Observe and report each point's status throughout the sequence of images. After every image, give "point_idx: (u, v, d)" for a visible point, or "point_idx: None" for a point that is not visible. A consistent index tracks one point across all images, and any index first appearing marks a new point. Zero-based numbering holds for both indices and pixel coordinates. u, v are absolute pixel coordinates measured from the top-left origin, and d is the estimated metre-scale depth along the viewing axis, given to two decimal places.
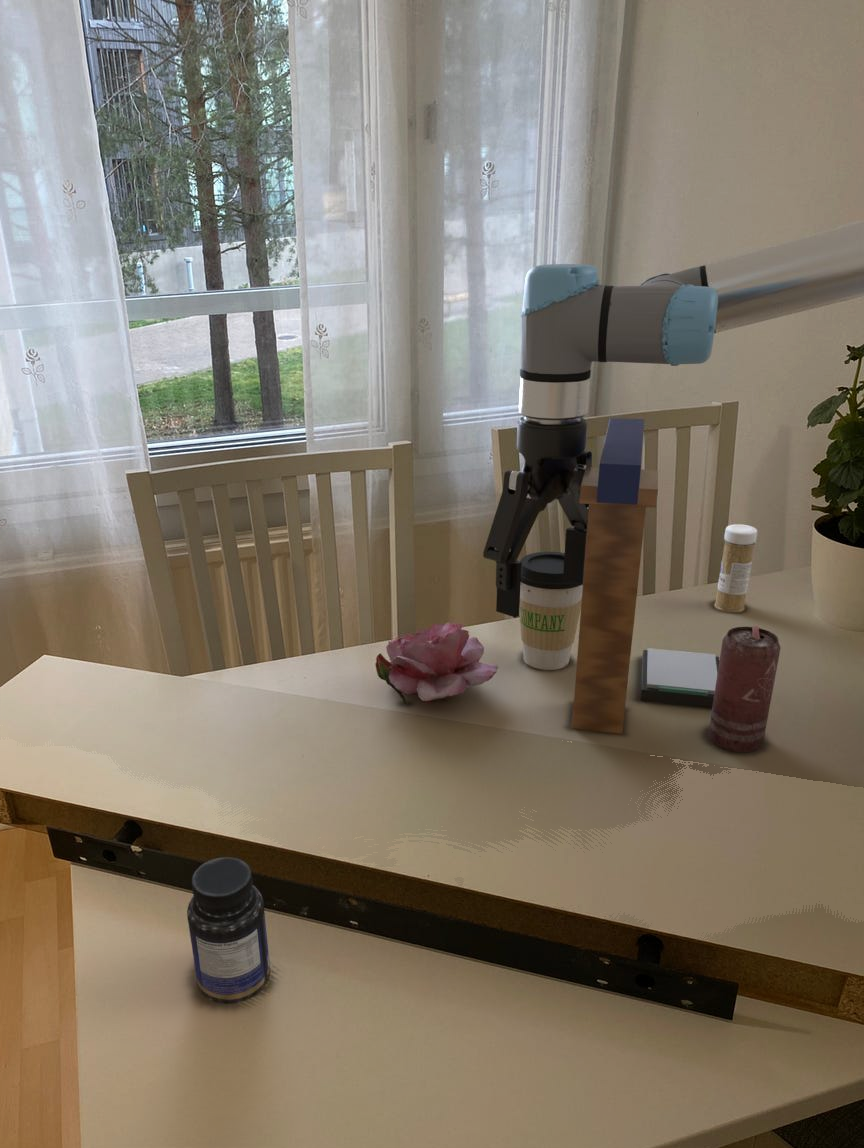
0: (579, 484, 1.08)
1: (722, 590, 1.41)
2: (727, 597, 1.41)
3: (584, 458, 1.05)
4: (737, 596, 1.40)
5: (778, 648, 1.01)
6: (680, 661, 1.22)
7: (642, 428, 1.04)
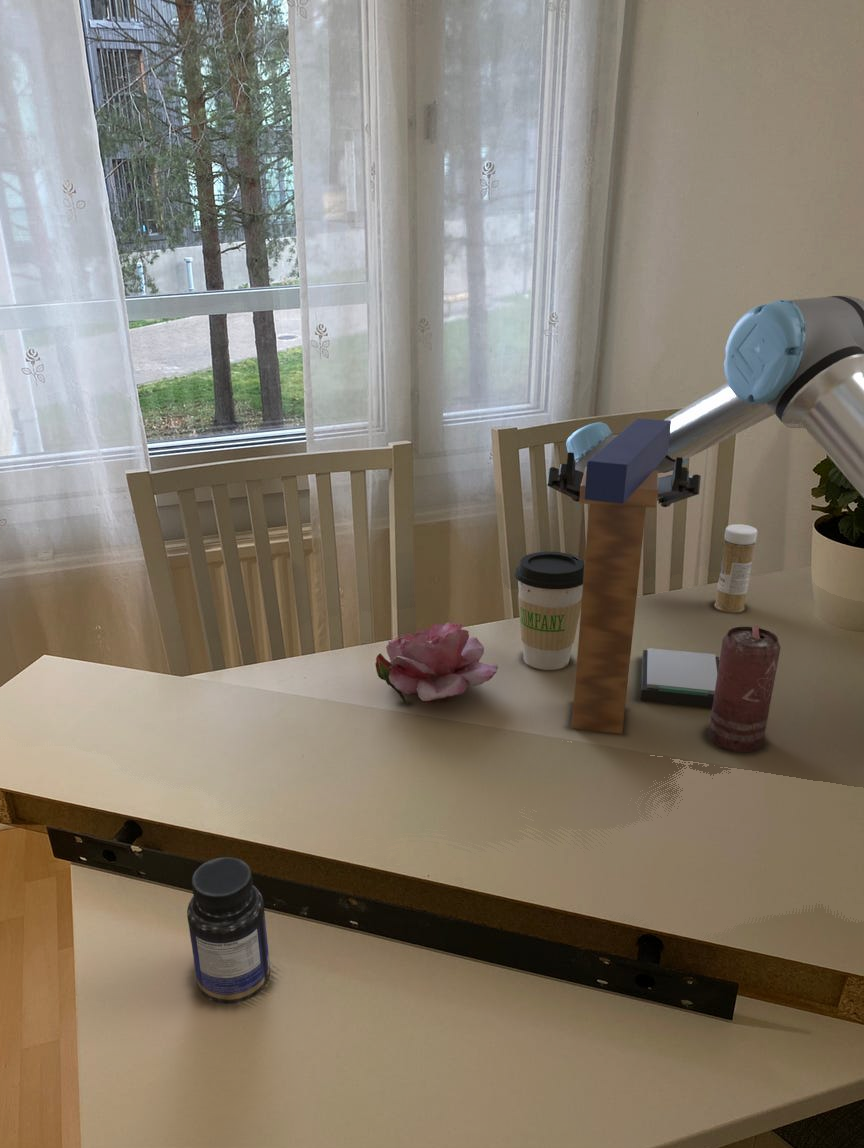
0: None
1: (722, 590, 1.41)
2: (727, 597, 1.41)
3: None
4: (737, 596, 1.40)
5: (778, 648, 1.01)
6: (680, 661, 1.22)
7: (661, 429, 1.03)
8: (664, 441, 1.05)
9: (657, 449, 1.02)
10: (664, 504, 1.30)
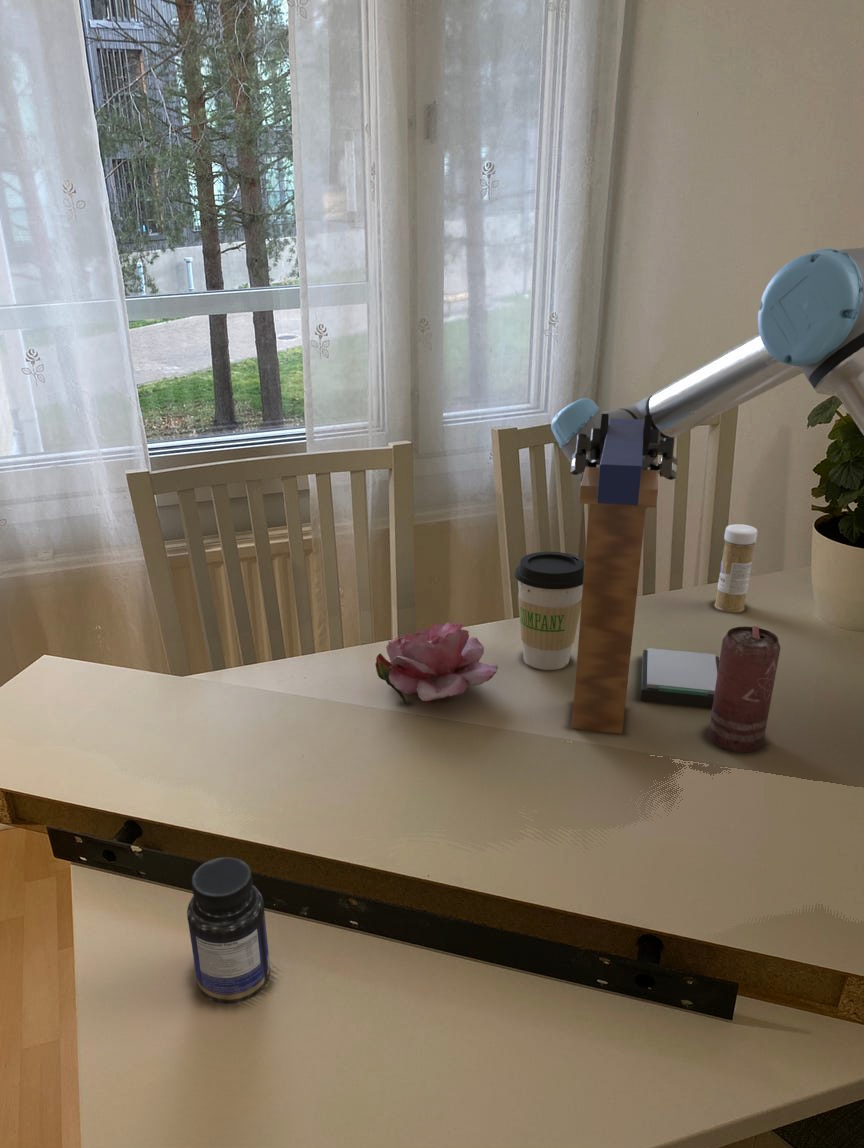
0: None
1: (722, 590, 1.41)
2: (727, 597, 1.41)
3: None
4: (737, 596, 1.40)
5: (778, 648, 1.01)
6: (680, 661, 1.22)
7: (642, 428, 1.03)
8: None
9: None
10: (667, 476, 1.16)
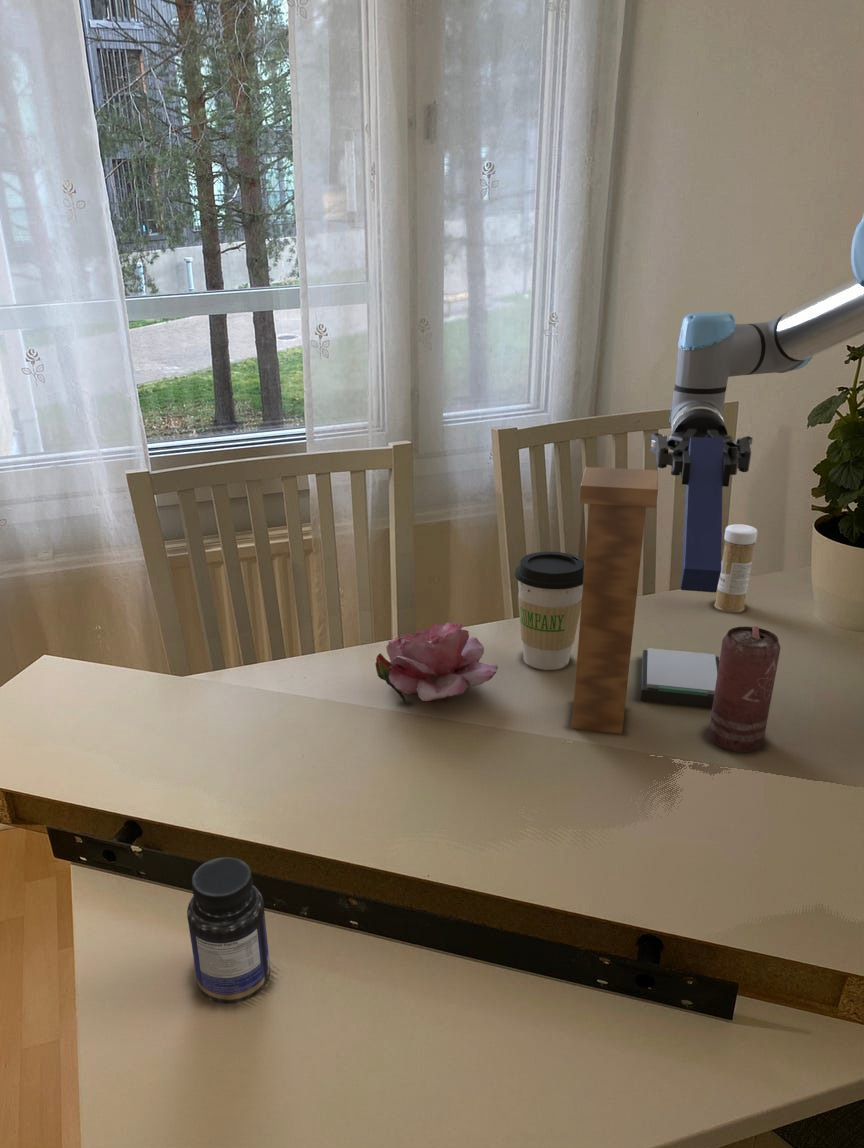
0: (738, 452, 1.22)
1: (722, 590, 1.41)
2: (727, 597, 1.41)
3: None
4: (737, 596, 1.40)
5: (778, 648, 1.01)
6: (680, 661, 1.22)
7: (721, 466, 1.13)
8: None
9: None
10: None
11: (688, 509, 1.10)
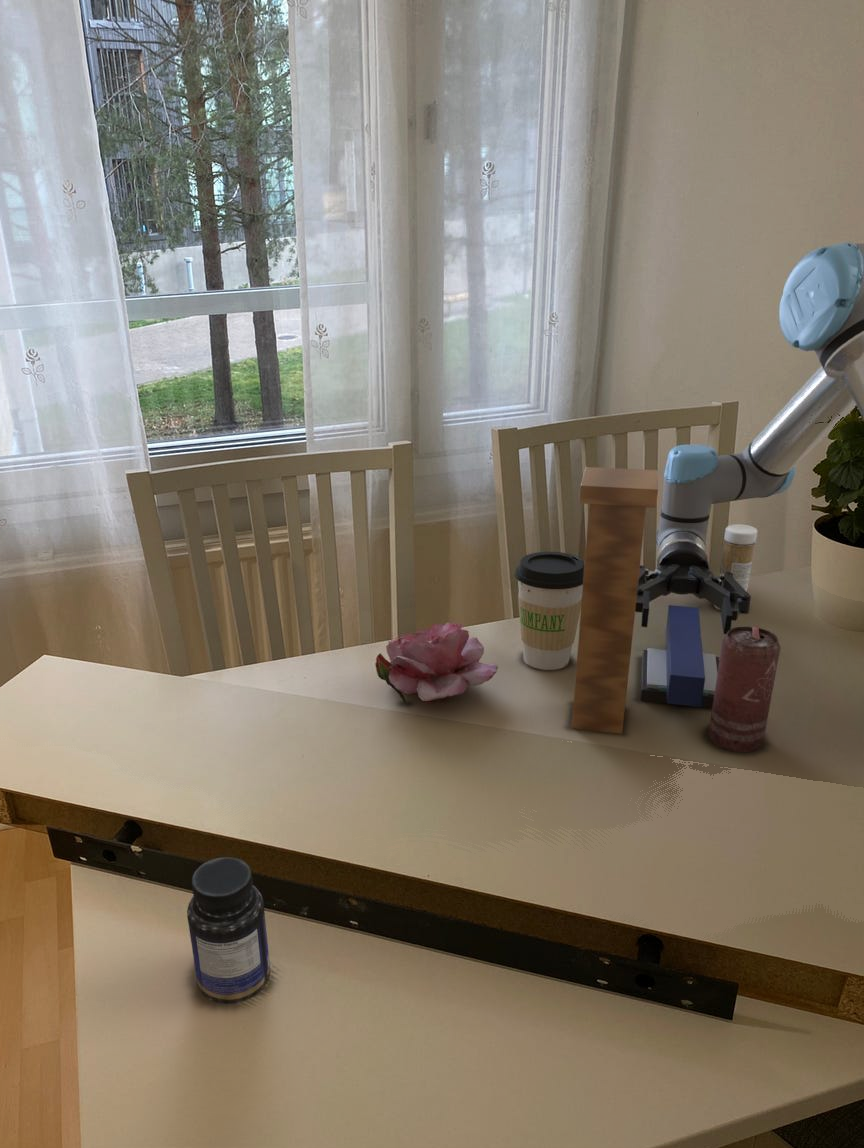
0: (727, 590, 1.31)
1: None
2: None
3: (724, 574, 1.33)
4: None
5: (778, 648, 1.01)
6: None
7: (698, 622, 1.24)
8: None
9: None
10: None
11: (671, 642, 1.18)
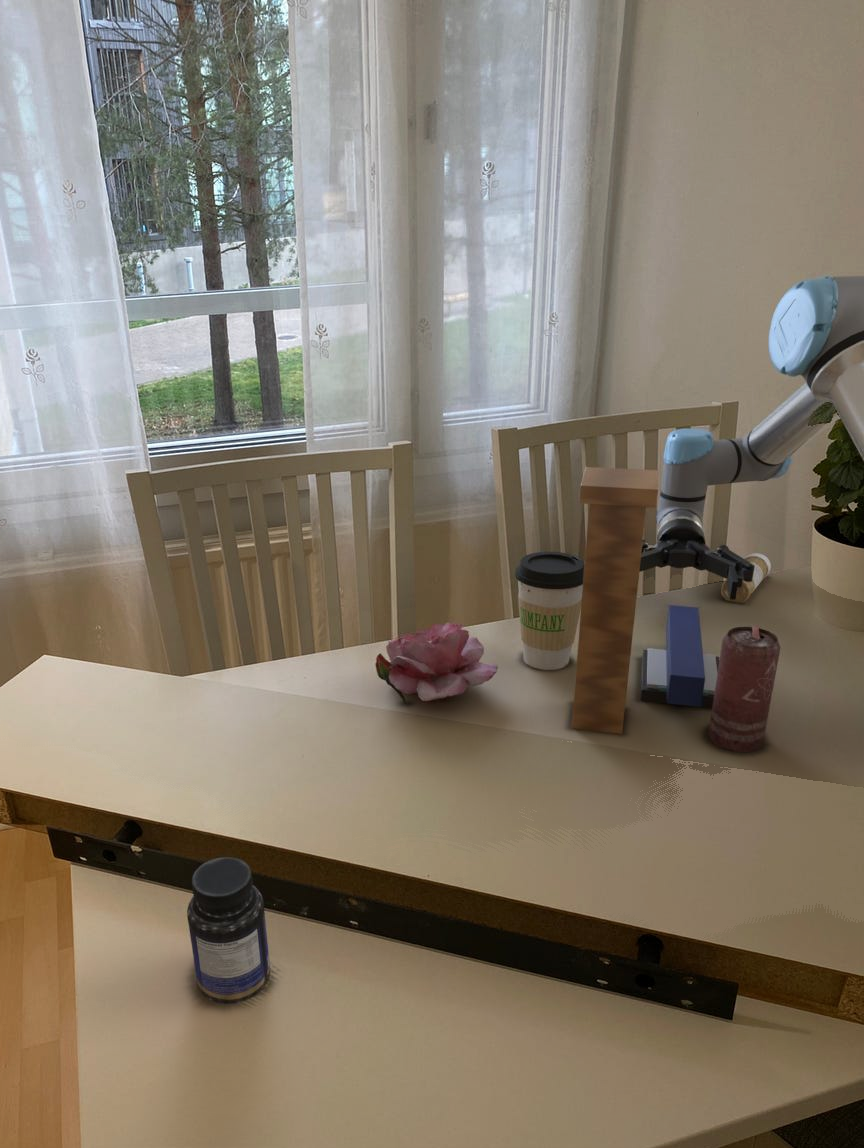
0: None
1: None
2: None
3: (719, 548, 1.43)
4: None
5: (778, 648, 1.01)
6: None
7: (698, 622, 1.24)
8: None
9: None
10: None
11: (671, 642, 1.18)
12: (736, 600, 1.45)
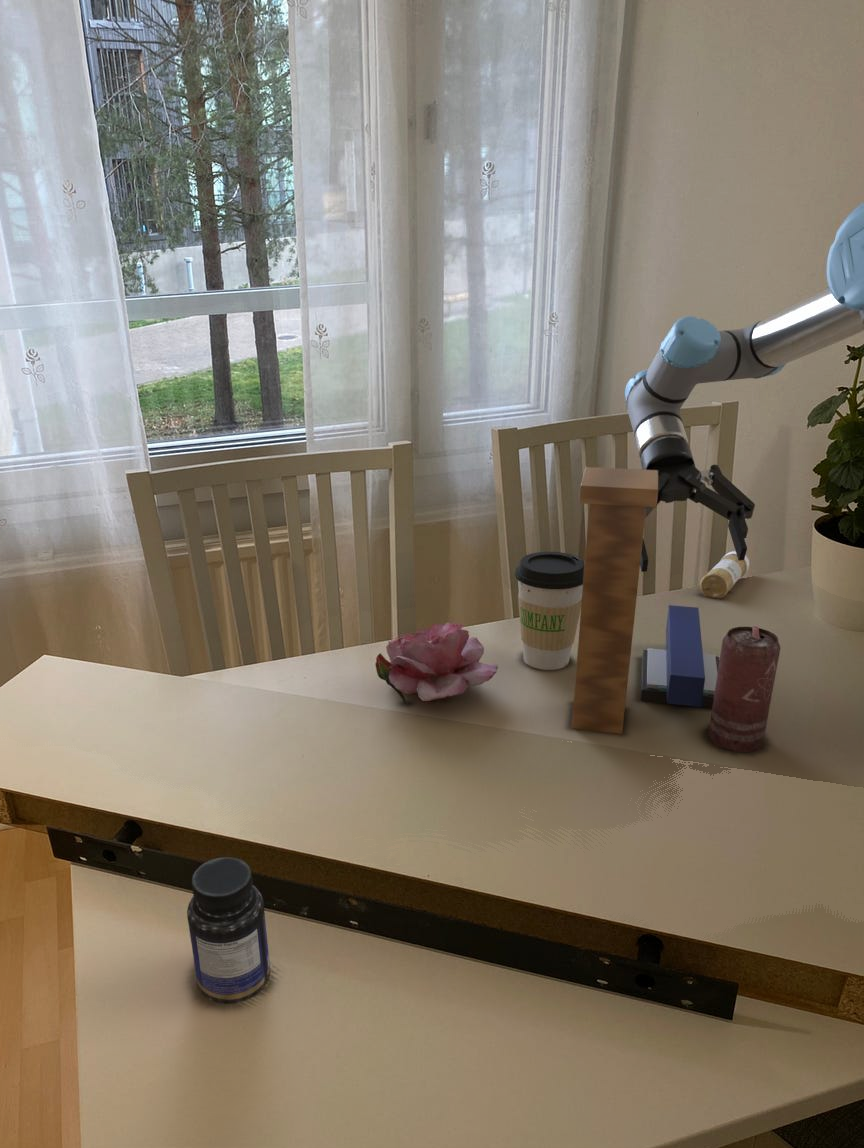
0: (722, 490, 1.36)
1: None
2: None
3: (710, 470, 1.37)
4: None
5: (778, 648, 1.01)
6: None
7: (698, 622, 1.24)
8: None
9: None
10: None
11: (671, 642, 1.18)
12: (723, 586, 1.45)
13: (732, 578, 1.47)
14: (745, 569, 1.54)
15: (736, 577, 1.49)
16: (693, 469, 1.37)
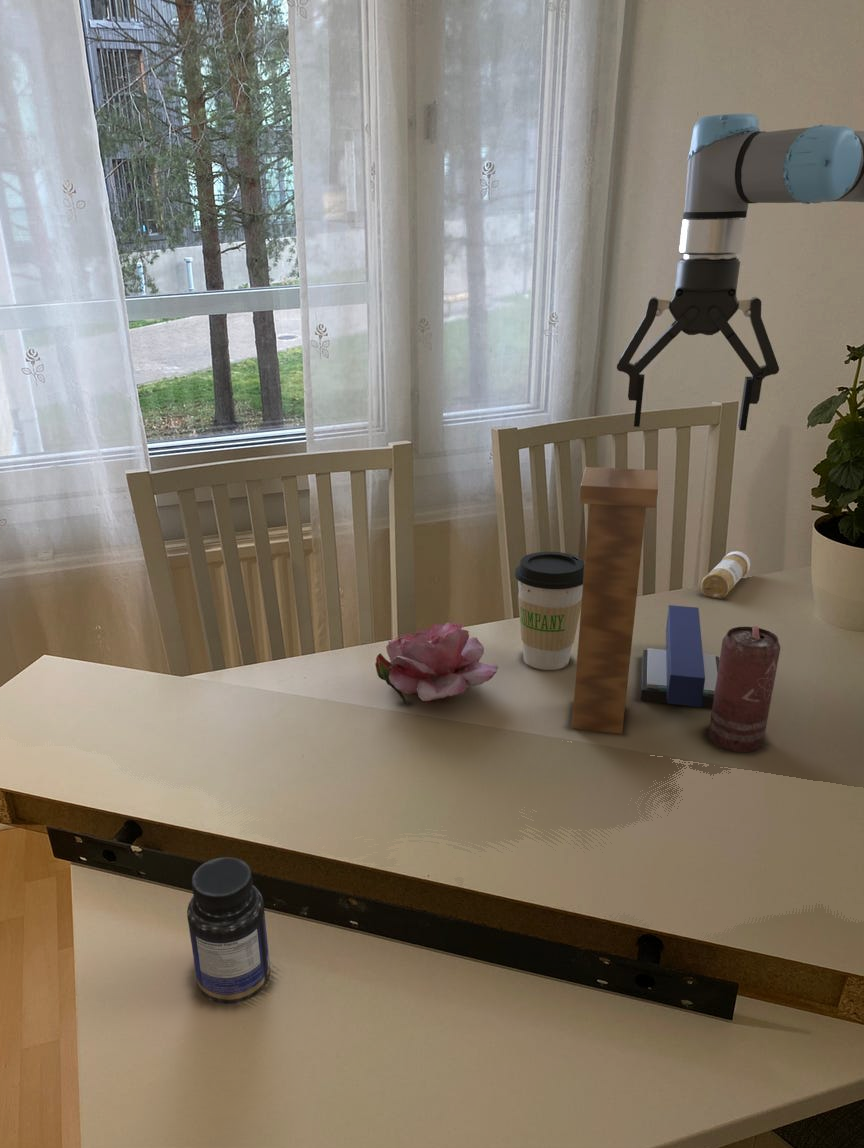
0: (754, 332, 1.17)
1: None
2: None
3: (750, 304, 1.15)
4: (711, 571, 1.49)
5: (778, 648, 1.01)
6: None
7: (698, 622, 1.24)
8: None
9: None
10: None
11: (671, 642, 1.18)
12: (724, 587, 1.45)
13: (733, 579, 1.47)
14: (746, 570, 1.54)
15: (737, 578, 1.49)
16: (730, 301, 1.15)
